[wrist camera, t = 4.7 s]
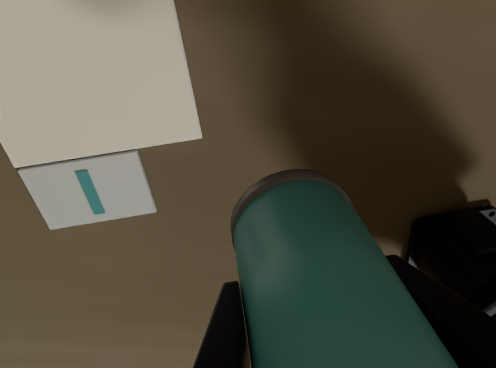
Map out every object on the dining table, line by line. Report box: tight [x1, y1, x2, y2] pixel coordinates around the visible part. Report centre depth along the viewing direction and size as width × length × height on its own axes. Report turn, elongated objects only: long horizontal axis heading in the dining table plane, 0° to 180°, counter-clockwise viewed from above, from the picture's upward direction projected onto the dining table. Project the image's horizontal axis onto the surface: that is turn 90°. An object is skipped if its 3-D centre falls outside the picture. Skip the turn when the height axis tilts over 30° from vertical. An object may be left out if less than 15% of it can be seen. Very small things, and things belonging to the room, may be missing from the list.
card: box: [18, 150, 157, 230], centre depth 22 cm, size 4×7×1 cm, turn 97°
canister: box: [230, 169, 458, 368], centre depth 8 cm, size 4×4×9 cm
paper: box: [0, 0, 202, 168], centre depth 16 cm, size 15×11×1 cm
